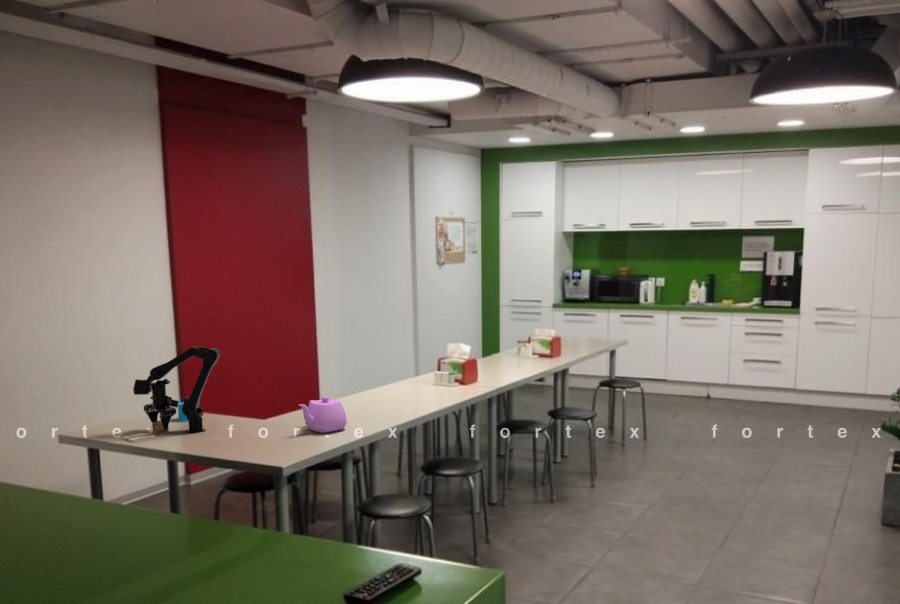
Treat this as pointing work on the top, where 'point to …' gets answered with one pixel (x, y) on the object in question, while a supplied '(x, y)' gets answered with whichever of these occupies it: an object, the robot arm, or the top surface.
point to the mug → (181, 414)
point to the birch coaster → (138, 437)
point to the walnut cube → (158, 428)
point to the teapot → (324, 415)
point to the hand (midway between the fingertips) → (160, 428)
